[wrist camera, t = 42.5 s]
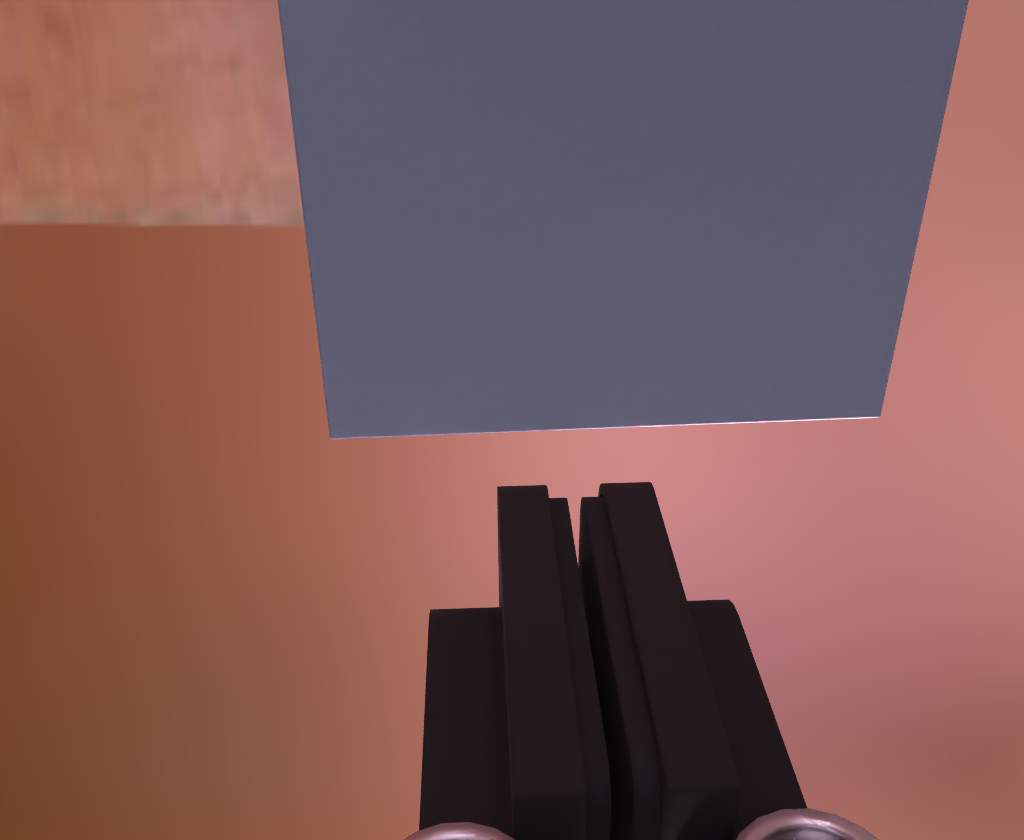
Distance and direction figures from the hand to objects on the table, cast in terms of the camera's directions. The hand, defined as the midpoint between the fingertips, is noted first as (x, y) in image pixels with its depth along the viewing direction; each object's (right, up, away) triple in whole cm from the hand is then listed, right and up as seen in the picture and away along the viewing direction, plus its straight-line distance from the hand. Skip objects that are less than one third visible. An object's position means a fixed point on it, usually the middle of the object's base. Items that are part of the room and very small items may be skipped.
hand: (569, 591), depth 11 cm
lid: (+2, +8, +14) cm, 16 cm away
